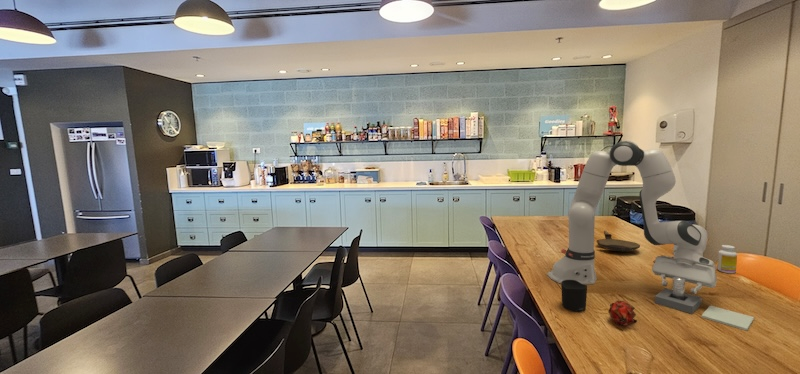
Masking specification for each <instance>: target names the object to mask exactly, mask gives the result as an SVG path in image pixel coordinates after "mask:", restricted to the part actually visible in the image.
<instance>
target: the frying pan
mask: <svg viewBox="0 0 800 374" xmlns="http://www.w3.org/2000/svg"><path fill="white" fill-rule="evenodd" d="M603 234H604V238H601V239H597V240H596V244H597V246H600V247H602V248H604V249H607V250H609V251H612V252H630V251H635V250H637V249H640V247H641V244H640V243H637V242H634V241H628V240H625V239H624V240H623V239H616V238H615V239H614V238H612V234H610V233H609V232H608V231H607V230H603Z"/></svg>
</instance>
